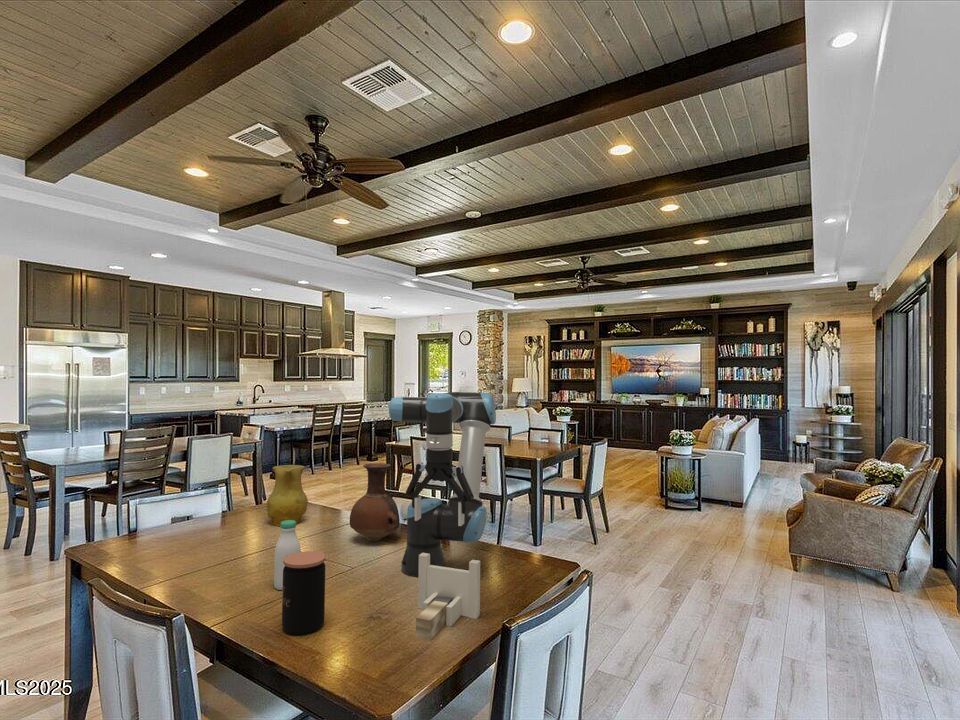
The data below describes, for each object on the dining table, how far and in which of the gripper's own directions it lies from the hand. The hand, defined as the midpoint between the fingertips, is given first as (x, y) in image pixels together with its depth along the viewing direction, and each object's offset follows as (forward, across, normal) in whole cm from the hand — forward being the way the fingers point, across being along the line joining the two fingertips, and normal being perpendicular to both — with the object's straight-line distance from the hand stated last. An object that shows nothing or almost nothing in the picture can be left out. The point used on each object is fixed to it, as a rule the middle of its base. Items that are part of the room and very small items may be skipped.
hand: (439, 522), depth 153 cm
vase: (+27, -49, +46) cm, 72 cm away
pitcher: (+27, -98, +54) cm, 115 cm away
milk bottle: (+25, -50, -4) cm, 56 cm away
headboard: (+24, +4, -5) cm, 25 cm away
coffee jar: (+24, -28, -24) cm, 44 cm away
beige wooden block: (+24, +4, -12) cm, 27 cm away
